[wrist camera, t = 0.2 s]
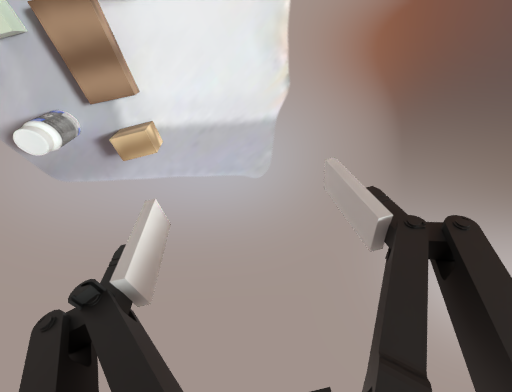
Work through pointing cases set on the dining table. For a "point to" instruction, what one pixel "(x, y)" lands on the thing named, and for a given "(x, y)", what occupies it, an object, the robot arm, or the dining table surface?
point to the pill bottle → (47, 132)
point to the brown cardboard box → (86, 47)
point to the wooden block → (137, 141)
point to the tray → (9, 21)
